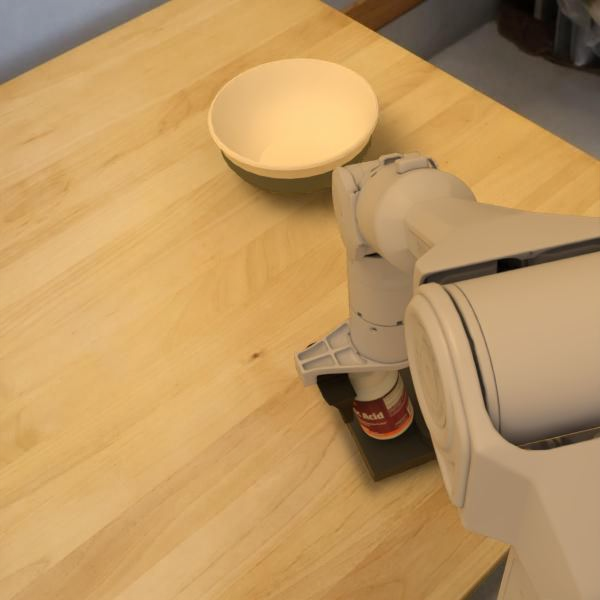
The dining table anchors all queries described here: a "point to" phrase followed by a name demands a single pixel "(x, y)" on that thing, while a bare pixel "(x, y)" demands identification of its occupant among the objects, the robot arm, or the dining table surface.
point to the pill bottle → (381, 403)
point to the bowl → (293, 123)
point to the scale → (396, 441)
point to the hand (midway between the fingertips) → (387, 397)
